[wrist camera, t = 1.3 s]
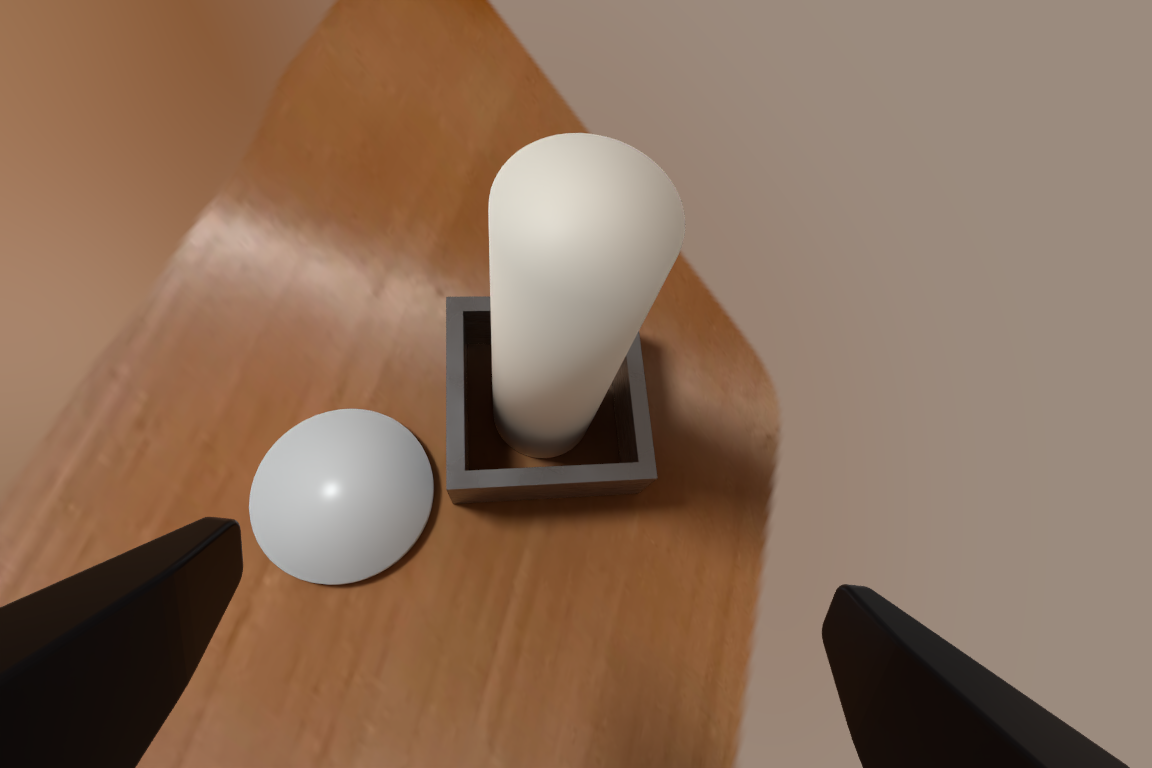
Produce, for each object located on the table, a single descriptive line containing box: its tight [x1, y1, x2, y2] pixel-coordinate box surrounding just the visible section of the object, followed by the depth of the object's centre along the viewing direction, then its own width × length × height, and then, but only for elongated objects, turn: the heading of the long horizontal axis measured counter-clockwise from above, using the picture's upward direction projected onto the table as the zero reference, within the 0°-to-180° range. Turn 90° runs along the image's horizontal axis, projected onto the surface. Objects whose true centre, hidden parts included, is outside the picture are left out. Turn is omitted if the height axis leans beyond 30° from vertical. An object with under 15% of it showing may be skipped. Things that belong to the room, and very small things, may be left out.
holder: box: [446, 297, 657, 504], centre depth 22 cm, size 7×7×3 cm
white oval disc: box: [249, 409, 434, 585], centre depth 21 cm, size 6×6×1 cm
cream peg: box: [488, 133, 685, 458], centre depth 18 cm, size 4×4×13 cm
